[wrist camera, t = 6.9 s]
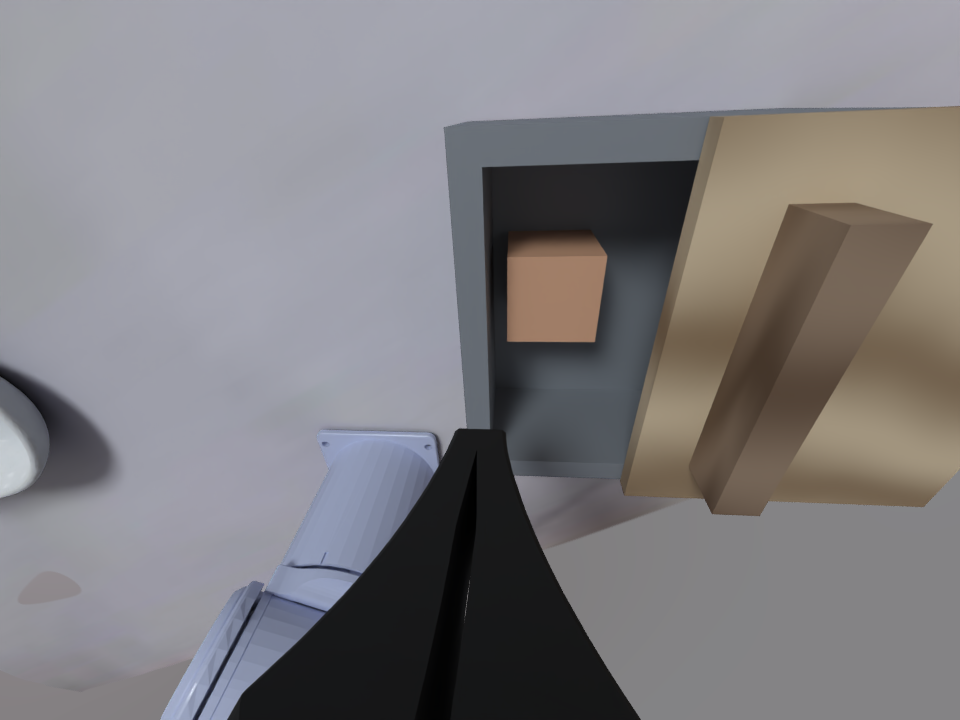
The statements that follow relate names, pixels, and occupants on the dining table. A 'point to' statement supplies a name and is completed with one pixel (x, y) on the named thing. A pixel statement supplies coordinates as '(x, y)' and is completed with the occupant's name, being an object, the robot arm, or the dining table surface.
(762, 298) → the lid
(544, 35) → the dining table surface
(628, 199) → the box
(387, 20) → the dining table surface
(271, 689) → the robot arm
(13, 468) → the spoon rest
